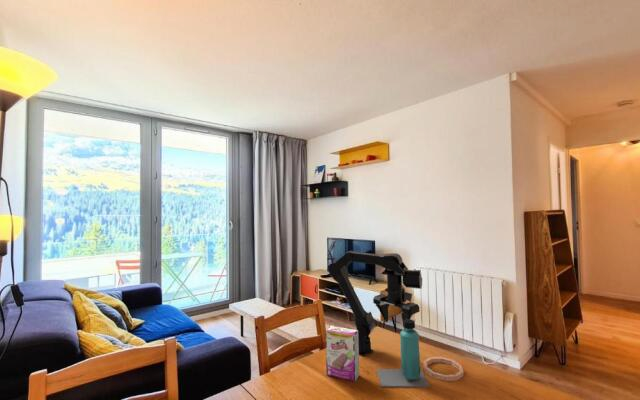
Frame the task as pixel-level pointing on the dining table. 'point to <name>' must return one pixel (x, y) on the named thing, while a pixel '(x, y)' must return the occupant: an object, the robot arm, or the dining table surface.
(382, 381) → the rubber mat
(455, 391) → the dining table surface
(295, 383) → the dining table surface
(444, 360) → the pale pink ring
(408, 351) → the beverage bottle
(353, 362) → the candy bar box
